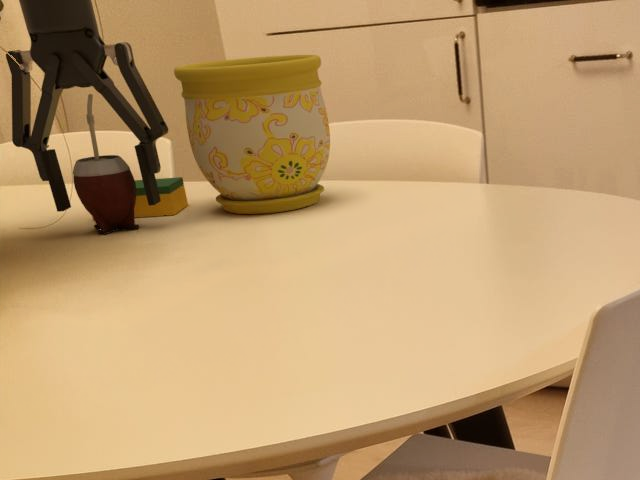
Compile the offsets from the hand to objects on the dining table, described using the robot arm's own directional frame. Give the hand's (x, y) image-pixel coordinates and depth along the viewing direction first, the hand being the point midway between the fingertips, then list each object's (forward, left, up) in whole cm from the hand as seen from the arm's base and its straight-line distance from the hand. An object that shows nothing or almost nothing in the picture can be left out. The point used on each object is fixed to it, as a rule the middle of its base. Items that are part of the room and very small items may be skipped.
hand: (109, 206), depth 117 cm
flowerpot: (+18, +10, -3) cm, 21 cm away
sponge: (0, +11, -3) cm, 11 cm away
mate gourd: (0, 0, -3) cm, 3 cm away
